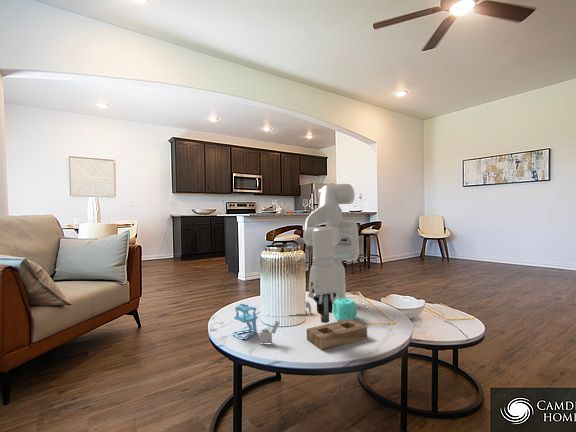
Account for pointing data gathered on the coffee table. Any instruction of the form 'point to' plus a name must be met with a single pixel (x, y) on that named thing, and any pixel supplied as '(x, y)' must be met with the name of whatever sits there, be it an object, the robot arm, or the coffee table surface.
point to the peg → (325, 308)
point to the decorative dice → (344, 309)
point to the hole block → (336, 334)
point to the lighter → (268, 334)
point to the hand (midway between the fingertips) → (324, 312)
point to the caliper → (308, 306)
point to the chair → (246, 319)
